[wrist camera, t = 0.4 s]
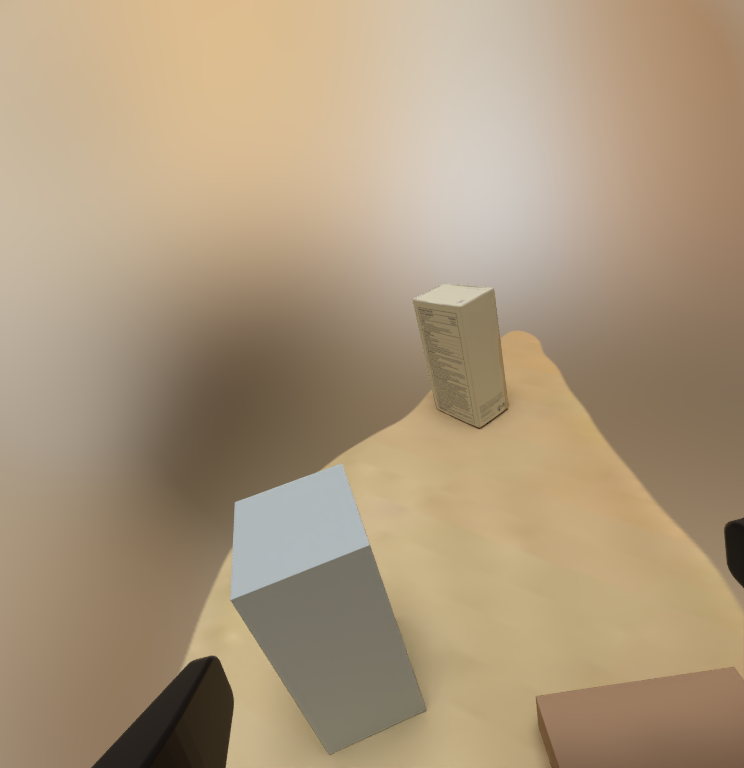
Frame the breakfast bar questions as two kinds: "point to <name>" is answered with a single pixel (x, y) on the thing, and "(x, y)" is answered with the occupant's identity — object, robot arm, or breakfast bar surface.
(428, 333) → the skincare box
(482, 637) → the breakfast bar surface
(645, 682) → the walnut block
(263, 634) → the pillar
